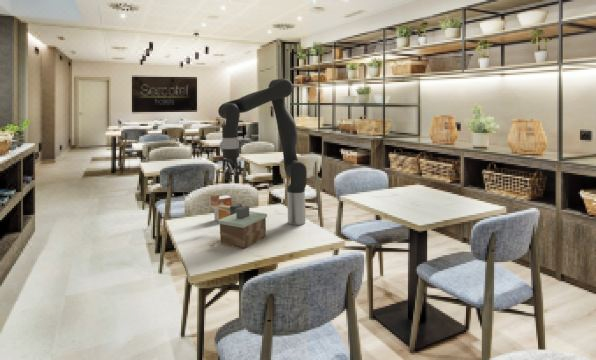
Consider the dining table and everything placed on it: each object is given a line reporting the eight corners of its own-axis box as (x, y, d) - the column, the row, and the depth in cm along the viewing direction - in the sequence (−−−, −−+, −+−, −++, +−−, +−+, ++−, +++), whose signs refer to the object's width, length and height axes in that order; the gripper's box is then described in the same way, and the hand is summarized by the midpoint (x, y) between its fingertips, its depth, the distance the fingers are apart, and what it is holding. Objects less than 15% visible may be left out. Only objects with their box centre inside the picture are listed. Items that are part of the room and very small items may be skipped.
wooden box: (238, 232, 211) (237, 203, 208) (266, 237, 203) (265, 207, 200) (215, 243, 196) (213, 212, 193) (243, 248, 188) (242, 217, 185)
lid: (243, 215, 208) (242, 201, 207) (267, 218, 202) (266, 204, 200) (218, 225, 192) (217, 210, 191) (243, 229, 185) (242, 214, 184)
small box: (218, 222, 227) (217, 199, 225) (214, 220, 232) (213, 196, 230) (232, 220, 232) (231, 197, 229) (227, 217, 237) (226, 194, 234)
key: (215, 206, 214) (214, 194, 213) (239, 210, 207) (238, 197, 205) (211, 208, 211) (210, 195, 210) (235, 211, 204) (234, 198, 203)
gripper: (245, 147, 192) (246, 183, 195) (230, 145, 203) (232, 178, 206) (230, 149, 187) (232, 185, 191) (216, 146, 199) (218, 180, 202)
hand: (232, 181), depth 198 cm, fingers open, 8 cm apart
